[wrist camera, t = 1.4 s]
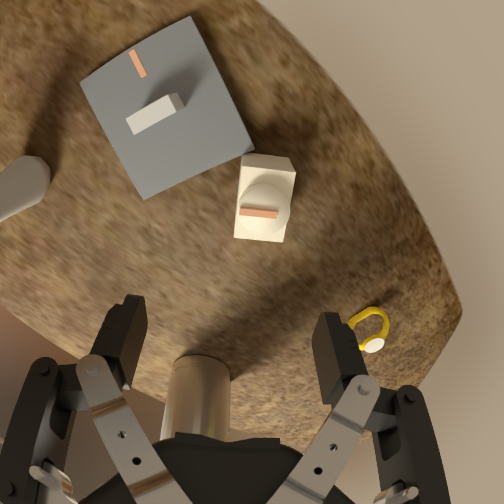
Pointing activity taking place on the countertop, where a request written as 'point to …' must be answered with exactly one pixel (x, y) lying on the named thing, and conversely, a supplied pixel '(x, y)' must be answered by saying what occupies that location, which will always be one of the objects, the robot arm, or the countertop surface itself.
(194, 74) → the plate
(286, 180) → the knob
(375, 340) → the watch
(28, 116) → the countertop surface
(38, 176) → the salt shaker
